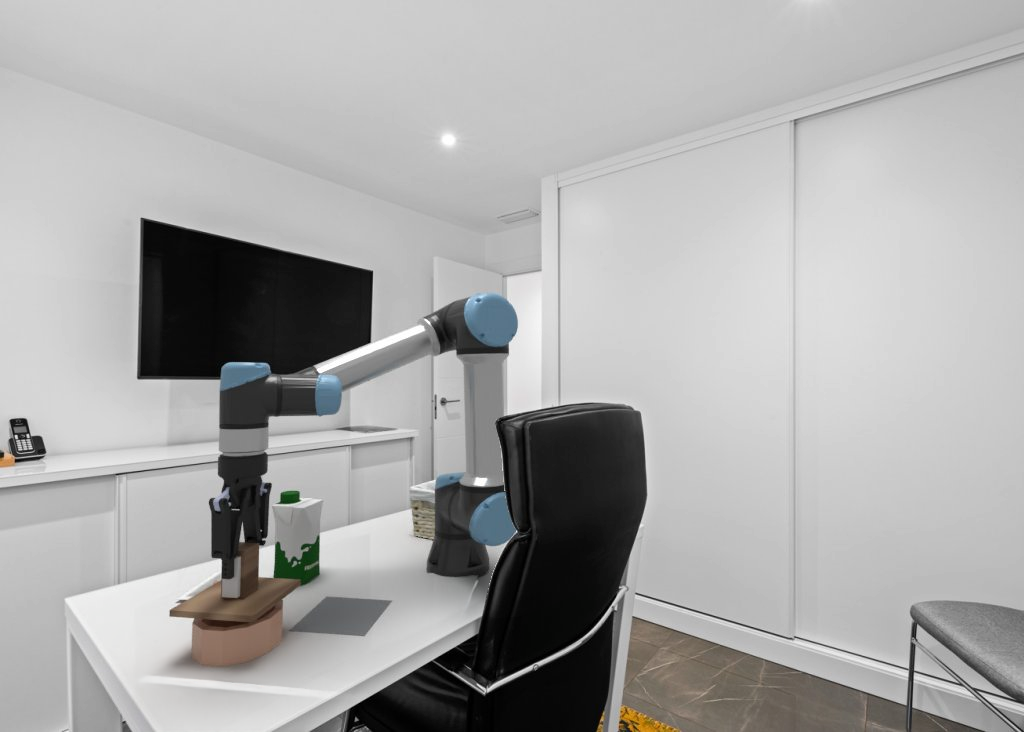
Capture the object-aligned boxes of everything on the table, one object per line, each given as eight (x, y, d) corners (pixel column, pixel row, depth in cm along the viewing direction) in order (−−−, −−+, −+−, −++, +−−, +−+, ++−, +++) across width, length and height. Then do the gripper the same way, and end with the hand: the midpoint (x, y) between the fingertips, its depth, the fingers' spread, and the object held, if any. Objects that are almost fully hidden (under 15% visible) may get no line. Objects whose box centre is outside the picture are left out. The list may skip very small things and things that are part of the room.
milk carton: (291, 573, 117) (293, 487, 118) (326, 576, 115) (327, 489, 116) (265, 588, 109) (267, 496, 109) (303, 592, 107) (304, 498, 107)
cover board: (300, 585, 91) (301, 535, 91) (252, 622, 77) (253, 563, 77) (229, 580, 93) (230, 531, 93) (169, 616, 79) (171, 558, 79)
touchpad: (175, 605, 102) (175, 594, 102) (218, 575, 117) (218, 566, 117) (214, 605, 102) (214, 594, 102) (252, 575, 117) (252, 566, 117)
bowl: (297, 631, 91) (297, 596, 91) (250, 675, 77) (251, 633, 78) (229, 627, 92) (229, 592, 92) (172, 668, 79) (173, 627, 79)
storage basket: (452, 546, 137) (453, 492, 137) (405, 537, 145) (406, 486, 145) (495, 524, 158) (495, 477, 159) (452, 517, 166) (452, 472, 166)
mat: (392, 605, 101) (392, 600, 101) (364, 641, 87) (364, 635, 87) (326, 601, 103) (326, 596, 103) (288, 636, 89) (288, 630, 89)
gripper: (254, 445, 94) (251, 570, 94) (185, 459, 77) (181, 612, 77) (291, 446, 94) (288, 572, 93) (230, 461, 77) (226, 615, 76)
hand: (240, 590), depth 85 cm, fingers closed on cover board, 4 cm apart
